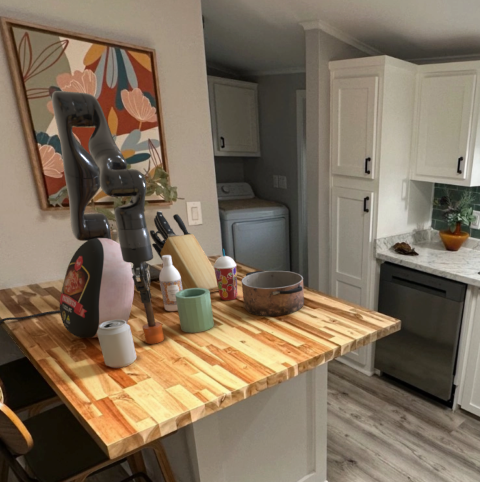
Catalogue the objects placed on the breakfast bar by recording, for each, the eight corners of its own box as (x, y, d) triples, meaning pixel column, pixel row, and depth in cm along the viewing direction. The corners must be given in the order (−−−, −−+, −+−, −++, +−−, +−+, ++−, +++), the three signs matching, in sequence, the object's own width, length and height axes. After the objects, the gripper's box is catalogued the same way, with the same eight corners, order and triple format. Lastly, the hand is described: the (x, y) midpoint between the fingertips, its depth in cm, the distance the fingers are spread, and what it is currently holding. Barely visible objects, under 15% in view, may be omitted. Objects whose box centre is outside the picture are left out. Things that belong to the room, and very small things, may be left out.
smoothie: (244, 296, 166) (239, 248, 159) (230, 302, 159) (224, 252, 152) (227, 293, 169) (221, 245, 161) (213, 299, 161) (206, 250, 154)
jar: (180, 334, 131) (174, 299, 127) (182, 322, 140) (176, 289, 136) (214, 330, 135) (209, 296, 131) (213, 319, 144) (209, 286, 139)
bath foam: (166, 313, 147) (156, 259, 140) (163, 306, 153) (154, 254, 145) (187, 309, 151) (178, 257, 143) (184, 303, 156) (175, 252, 149)
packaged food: (55, 333, 129) (28, 239, 118) (122, 315, 144) (103, 230, 133) (86, 353, 118) (59, 251, 107) (154, 331, 133) (137, 240, 122)
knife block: (180, 275, 189) (169, 207, 178) (225, 291, 170) (216, 217, 159) (155, 280, 181) (142, 209, 169) (200, 298, 162) (188, 220, 150)
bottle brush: (144, 344, 123) (132, 288, 117) (146, 338, 128) (135, 283, 121) (163, 342, 125) (152, 286, 118) (164, 335, 129) (154, 281, 123)
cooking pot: (228, 301, 160) (225, 275, 156) (278, 289, 175) (276, 265, 171) (270, 324, 141) (267, 295, 137) (321, 309, 156) (320, 282, 152)
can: (114, 356, 117) (105, 317, 112) (142, 356, 117) (134, 317, 113) (99, 369, 110) (89, 329, 105) (129, 369, 110) (119, 328, 106)
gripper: (124, 239, 120) (135, 294, 126) (115, 249, 108) (128, 310, 114) (153, 238, 122) (163, 292, 129) (147, 248, 111) (158, 307, 117)
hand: (146, 300), depth 121 cm, fingers closed on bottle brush
